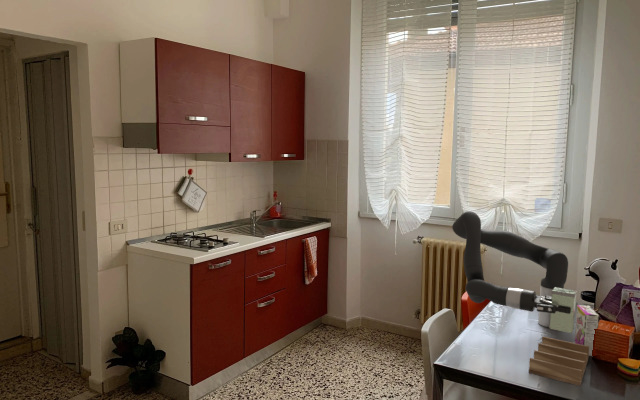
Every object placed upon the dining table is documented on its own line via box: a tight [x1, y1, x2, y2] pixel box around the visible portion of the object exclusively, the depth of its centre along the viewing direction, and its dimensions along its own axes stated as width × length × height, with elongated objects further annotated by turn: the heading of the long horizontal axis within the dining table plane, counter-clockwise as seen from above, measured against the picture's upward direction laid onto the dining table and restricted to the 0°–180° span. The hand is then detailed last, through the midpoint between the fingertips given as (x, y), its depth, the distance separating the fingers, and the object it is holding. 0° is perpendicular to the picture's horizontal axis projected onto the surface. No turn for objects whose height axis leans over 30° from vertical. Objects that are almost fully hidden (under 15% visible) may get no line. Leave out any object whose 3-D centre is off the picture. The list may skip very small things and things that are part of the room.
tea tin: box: [549, 287, 578, 334], centre depth 173 cm, size 5×7×14 cm
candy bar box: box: [573, 304, 600, 357], centre depth 188 cm, size 11×5×16 cm, turn 168°
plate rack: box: [528, 336, 590, 387], centre depth 175 cm, size 25×16×5 cm, turn 146°
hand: (571, 308), depth 172 cm, fingers closed on tea tin, 5 cm apart
